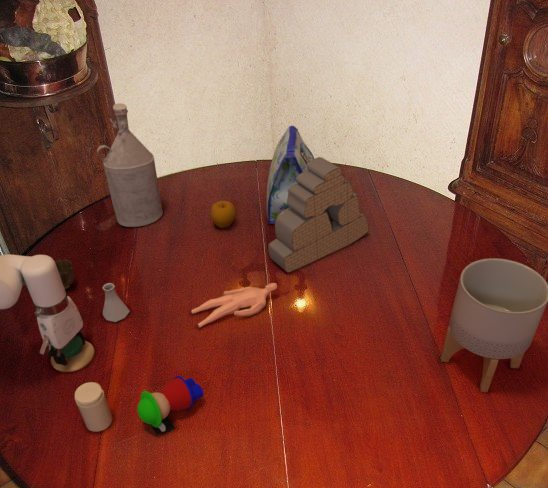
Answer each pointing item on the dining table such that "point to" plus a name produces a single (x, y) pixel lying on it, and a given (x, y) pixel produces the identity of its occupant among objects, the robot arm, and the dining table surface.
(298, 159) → the lunch bag
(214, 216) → the apple
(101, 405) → the beige cylinder
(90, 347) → the coaster
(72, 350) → the jar lid
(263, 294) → the male figurine
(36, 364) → the dining table surface
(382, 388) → the dining table surface
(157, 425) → the toy figure
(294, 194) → the ruin
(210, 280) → the dining table surface
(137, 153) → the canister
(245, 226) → the dining table surface
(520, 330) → the planter
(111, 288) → the flask
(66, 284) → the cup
